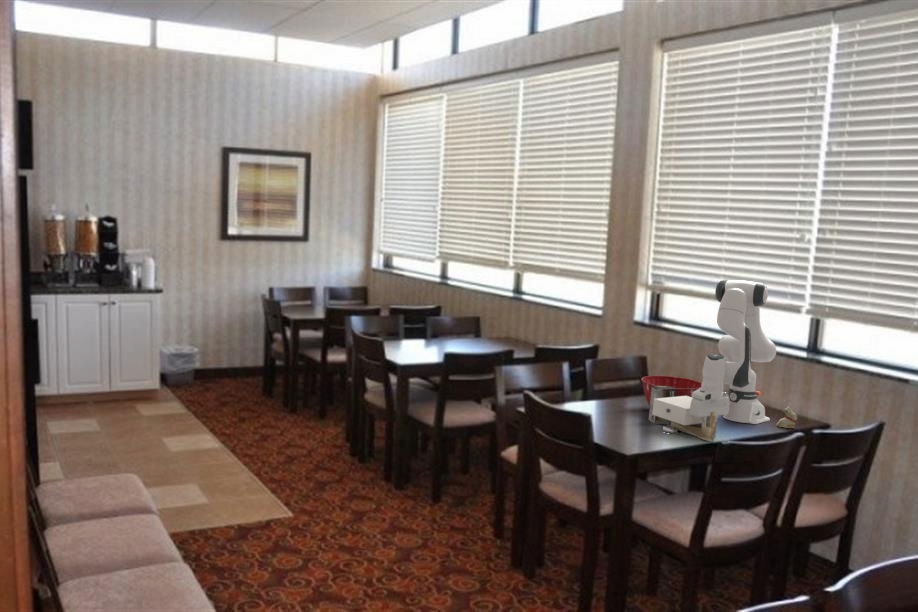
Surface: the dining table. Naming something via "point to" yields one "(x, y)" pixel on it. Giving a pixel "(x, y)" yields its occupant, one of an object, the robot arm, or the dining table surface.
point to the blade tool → (703, 433)
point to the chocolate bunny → (788, 419)
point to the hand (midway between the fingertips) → (708, 426)
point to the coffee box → (660, 393)
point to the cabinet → (677, 411)
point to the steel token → (670, 429)
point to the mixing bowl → (680, 384)
